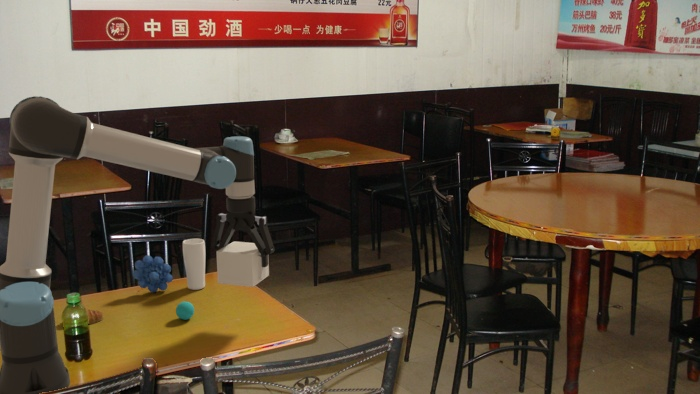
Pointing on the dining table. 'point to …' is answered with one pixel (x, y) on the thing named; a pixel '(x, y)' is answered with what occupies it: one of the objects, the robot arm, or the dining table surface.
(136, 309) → the dining table surface
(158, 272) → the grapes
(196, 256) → the drinking glass
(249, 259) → the matte cream cube
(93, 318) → the pastry
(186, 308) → the ball
